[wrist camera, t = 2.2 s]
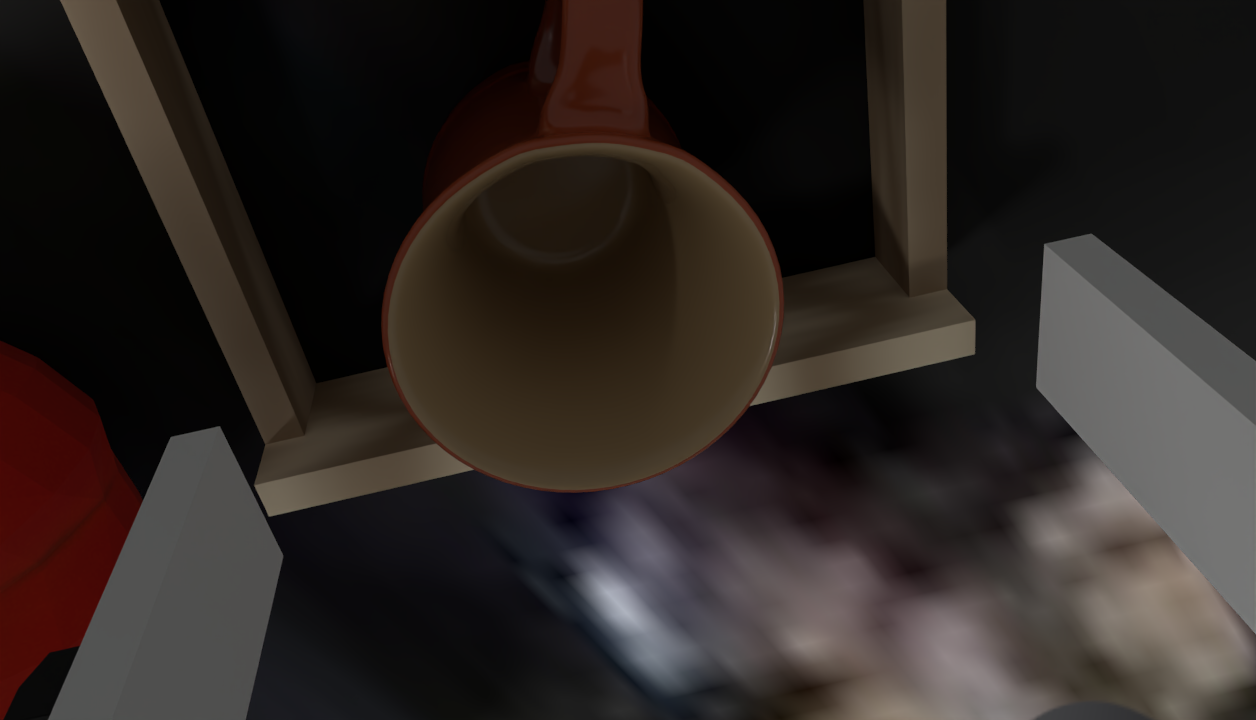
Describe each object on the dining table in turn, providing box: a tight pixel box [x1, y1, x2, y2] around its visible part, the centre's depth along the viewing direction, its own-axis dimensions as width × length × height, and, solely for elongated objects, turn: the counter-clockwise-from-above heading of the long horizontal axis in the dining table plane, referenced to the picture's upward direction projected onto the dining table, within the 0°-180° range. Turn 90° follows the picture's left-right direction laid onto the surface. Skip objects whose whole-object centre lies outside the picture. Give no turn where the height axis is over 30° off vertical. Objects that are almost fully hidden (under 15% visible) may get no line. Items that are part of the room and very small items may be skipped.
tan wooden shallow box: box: [60, 0, 975, 517], centre depth 27 cm, size 21×16×5 cm
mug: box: [381, 0, 784, 493], centre depth 25 cm, size 12×9×10 cm
